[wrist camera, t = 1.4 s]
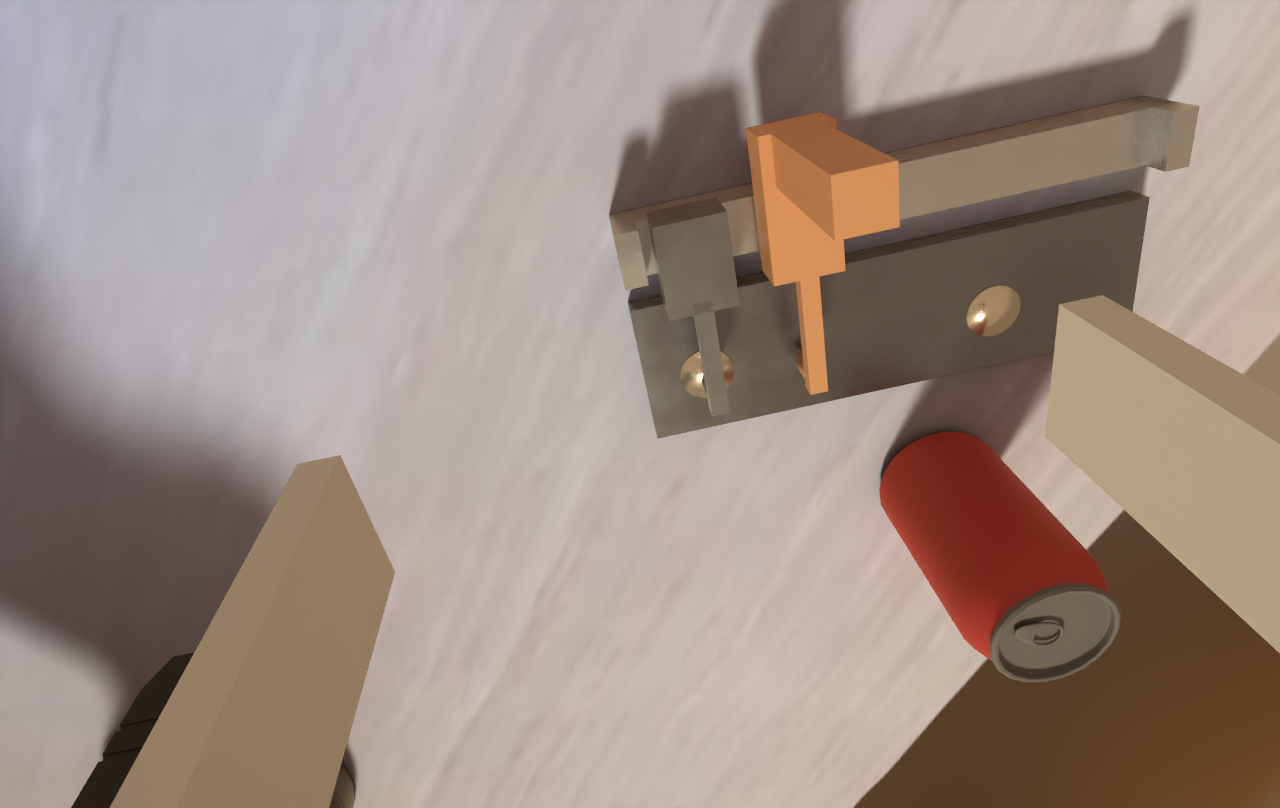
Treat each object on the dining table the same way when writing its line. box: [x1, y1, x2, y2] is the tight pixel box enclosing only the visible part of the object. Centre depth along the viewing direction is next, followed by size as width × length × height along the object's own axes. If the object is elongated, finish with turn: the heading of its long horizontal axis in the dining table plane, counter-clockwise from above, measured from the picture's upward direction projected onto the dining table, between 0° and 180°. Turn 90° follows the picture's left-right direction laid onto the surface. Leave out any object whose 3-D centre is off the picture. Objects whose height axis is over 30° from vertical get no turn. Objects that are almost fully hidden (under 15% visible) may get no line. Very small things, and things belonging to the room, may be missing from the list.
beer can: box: [880, 432, 1121, 682], centre depth 37 cm, size 7×7×12 cm
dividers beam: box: [609, 96, 1199, 416], centre depth 33 cm, size 24×9×4 cm, turn 101°
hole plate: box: [628, 191, 1149, 438], centre depth 36 cm, size 24×7×1 cm, turn 101°
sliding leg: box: [746, 112, 900, 395], centre depth 29 cm, size 3×12×10 cm, turn 11°
